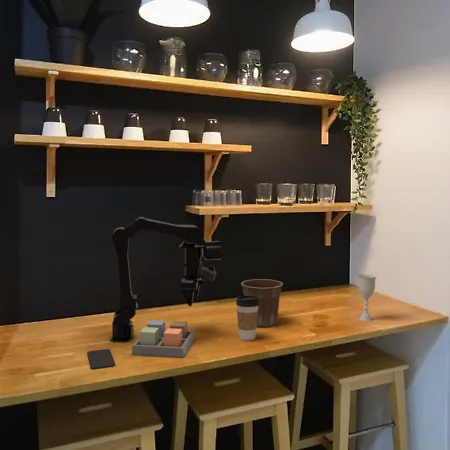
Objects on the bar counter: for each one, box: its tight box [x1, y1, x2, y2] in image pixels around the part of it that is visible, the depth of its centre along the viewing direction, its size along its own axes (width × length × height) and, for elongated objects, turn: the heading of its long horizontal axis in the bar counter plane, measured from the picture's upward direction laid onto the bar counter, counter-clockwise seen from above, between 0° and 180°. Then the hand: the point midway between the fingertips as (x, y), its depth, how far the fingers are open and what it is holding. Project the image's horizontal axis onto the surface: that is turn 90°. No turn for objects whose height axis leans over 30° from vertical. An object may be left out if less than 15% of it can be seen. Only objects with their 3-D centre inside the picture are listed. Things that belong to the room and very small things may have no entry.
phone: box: [86, 348, 116, 370], centre depth 145 cm, size 7×1×15 cm
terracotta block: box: [164, 327, 182, 347], centre depth 151 cm, size 5×5×6 cm
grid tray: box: [131, 319, 195, 358], centre depth 156 cm, size 17×17×7 cm
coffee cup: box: [235, 295, 259, 341], centre depth 165 cm, size 8×8×15 cm
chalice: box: [357, 273, 378, 322], centre depth 187 cm, size 7×7×18 cm
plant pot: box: [241, 278, 284, 328], centre depth 182 cm, size 16×16×16 cm
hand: (192, 302), depth 167 cm, fingers open, 9 cm apart
